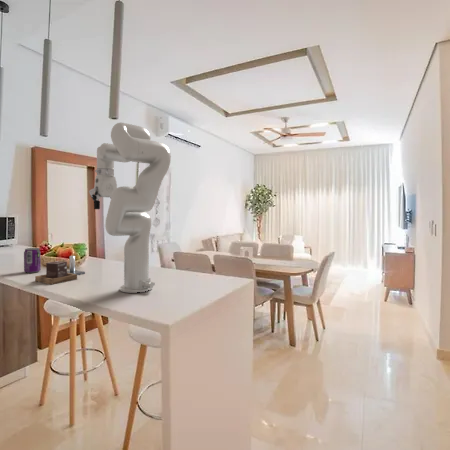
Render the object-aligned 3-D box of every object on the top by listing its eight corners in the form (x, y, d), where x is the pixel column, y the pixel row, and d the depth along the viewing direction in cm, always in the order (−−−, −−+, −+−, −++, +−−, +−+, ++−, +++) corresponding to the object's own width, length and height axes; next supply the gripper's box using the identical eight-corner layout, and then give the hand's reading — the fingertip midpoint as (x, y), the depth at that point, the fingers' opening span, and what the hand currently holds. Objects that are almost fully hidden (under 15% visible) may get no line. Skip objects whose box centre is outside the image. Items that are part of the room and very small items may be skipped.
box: (57, 280, 135) (56, 263, 134) (45, 279, 136) (45, 263, 136) (67, 277, 141) (67, 261, 140) (56, 276, 142) (56, 260, 142)
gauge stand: (84, 273, 153) (84, 255, 153) (70, 276, 146) (70, 257, 146) (74, 271, 157) (74, 254, 157) (59, 274, 150) (59, 256, 150)
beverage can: (43, 271, 156) (43, 248, 156) (28, 274, 150) (28, 249, 150) (36, 270, 160) (35, 247, 160) (21, 272, 154) (21, 248, 154)
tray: (77, 279, 141) (77, 274, 141) (51, 284, 130) (51, 279, 130) (61, 276, 147) (60, 271, 146) (35, 281, 136) (35, 276, 136)
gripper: (95, 170, 136) (95, 209, 137) (125, 175, 151) (125, 209, 152) (84, 171, 140) (84, 209, 140) (114, 175, 155) (114, 209, 155)
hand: (105, 209), depth 146 cm, fingers open, 9 cm apart
